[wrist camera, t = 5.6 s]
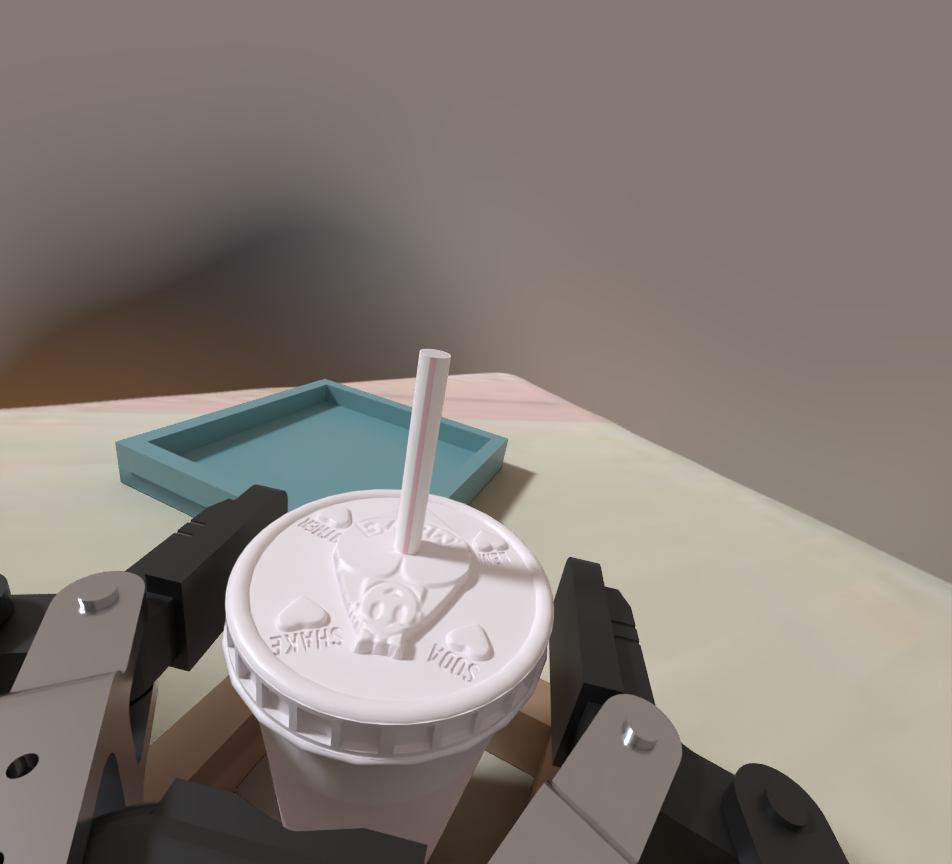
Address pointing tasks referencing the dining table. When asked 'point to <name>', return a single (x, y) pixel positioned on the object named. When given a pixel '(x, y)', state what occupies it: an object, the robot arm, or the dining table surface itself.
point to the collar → (242, 746)
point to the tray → (301, 451)
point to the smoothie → (385, 643)
